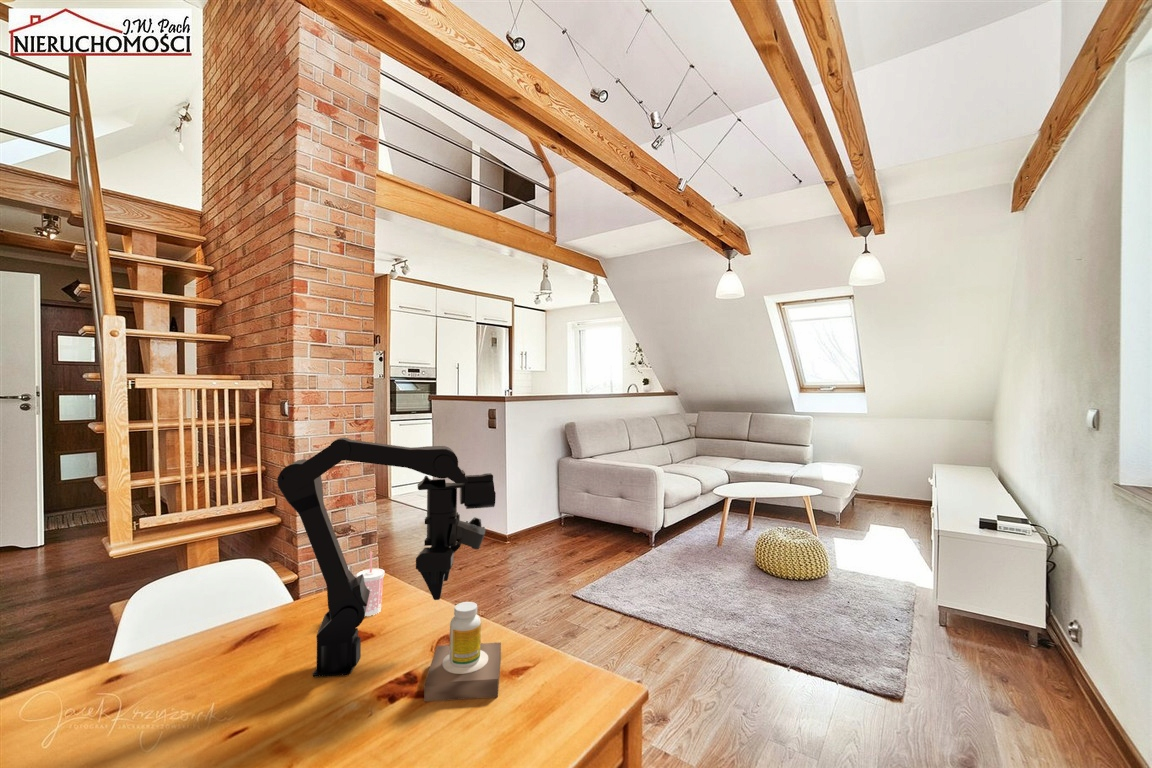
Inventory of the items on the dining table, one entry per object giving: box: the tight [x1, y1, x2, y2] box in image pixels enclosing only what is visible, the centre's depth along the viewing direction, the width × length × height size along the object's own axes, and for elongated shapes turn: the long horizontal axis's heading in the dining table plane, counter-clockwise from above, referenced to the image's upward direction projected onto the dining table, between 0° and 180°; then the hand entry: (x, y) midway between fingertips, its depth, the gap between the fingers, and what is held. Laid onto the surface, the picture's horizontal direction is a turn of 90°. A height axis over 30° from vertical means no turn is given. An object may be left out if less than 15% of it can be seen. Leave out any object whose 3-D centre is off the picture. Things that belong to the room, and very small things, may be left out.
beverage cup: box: [355, 550, 386, 617], centre depth 113 cm, size 6×6×14 cm
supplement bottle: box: [449, 601, 482, 668], centre depth 87 cm, size 5×5×10 cm
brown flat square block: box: [423, 642, 502, 702], centre depth 87 cm, size 12×12×3 cm
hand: (441, 589), depth 96 cm, fingers open, 9 cm apart
